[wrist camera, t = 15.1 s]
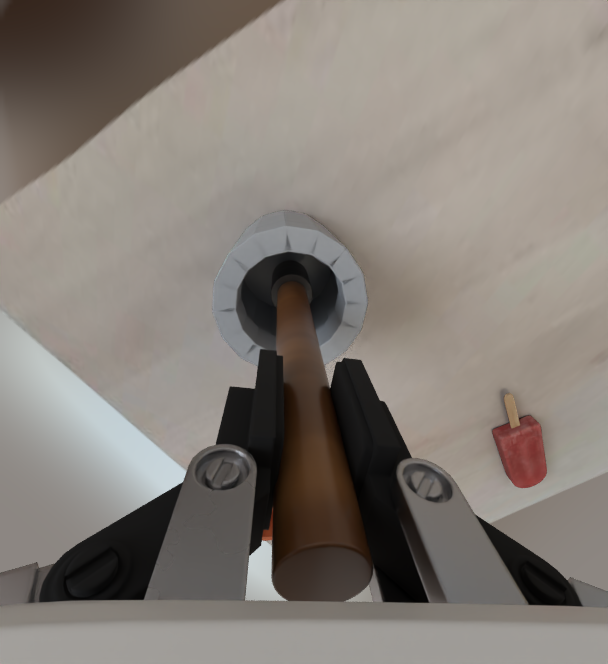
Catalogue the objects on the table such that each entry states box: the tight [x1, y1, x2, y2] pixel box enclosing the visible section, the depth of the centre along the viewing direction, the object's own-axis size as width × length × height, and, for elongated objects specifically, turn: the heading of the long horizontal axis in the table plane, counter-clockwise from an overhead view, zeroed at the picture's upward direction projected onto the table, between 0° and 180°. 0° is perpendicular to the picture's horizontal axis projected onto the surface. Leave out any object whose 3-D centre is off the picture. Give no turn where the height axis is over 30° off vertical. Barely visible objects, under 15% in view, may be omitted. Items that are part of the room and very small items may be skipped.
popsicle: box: [492, 393, 547, 488], centre depth 38 cm, size 4×2×15 cm
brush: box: [271, 260, 374, 602], centre depth 15 cm, size 3×3×20 cm
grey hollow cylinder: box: [212, 210, 368, 366], centre depth 24 cm, size 9×9×11 cm
